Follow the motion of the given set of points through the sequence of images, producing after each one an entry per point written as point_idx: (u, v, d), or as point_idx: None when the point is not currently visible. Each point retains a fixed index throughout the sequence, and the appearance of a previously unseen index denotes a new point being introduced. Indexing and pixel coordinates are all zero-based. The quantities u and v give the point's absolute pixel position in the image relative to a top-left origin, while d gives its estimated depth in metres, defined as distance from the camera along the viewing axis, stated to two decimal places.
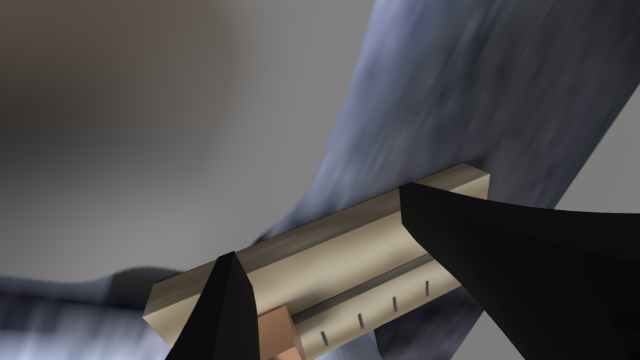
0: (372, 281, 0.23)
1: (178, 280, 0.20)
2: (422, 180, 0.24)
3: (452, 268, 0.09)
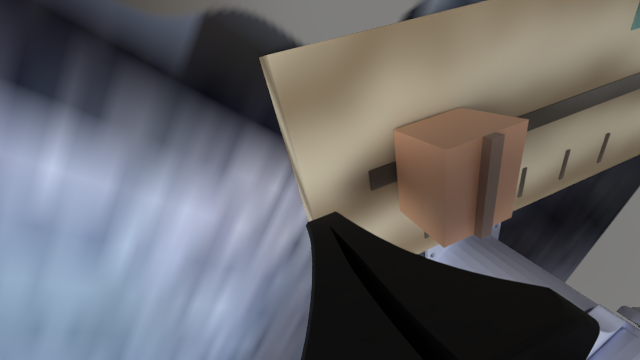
0: (558, 106, 0.16)
1: None
2: None
3: None
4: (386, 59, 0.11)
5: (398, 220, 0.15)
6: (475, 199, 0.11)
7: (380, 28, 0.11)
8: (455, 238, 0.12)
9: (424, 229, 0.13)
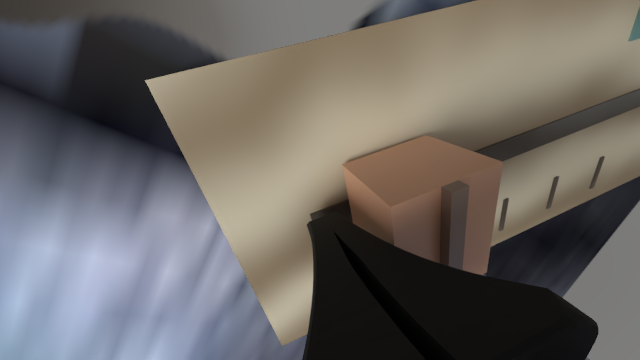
0: (544, 130, 0.13)
1: None
2: None
3: None
4: (320, 82, 0.09)
5: None
6: (437, 259, 0.09)
7: (306, 43, 0.08)
8: None
9: None
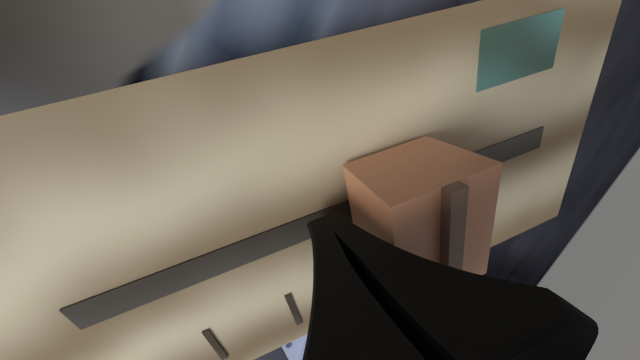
0: None
1: None
2: None
3: None
4: (0, 171, 0.07)
5: (161, 349, 0.11)
6: (437, 259, 0.09)
7: None
8: None
9: None
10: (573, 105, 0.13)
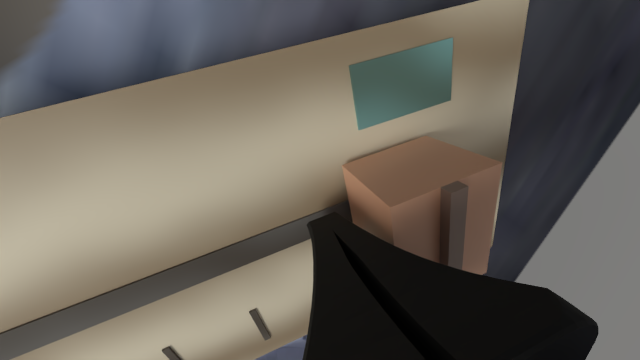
0: (268, 236, 0.11)
1: None
2: None
3: None
4: None
5: None
6: (437, 259, 0.09)
7: None
8: None
9: None
10: (487, 136, 0.12)
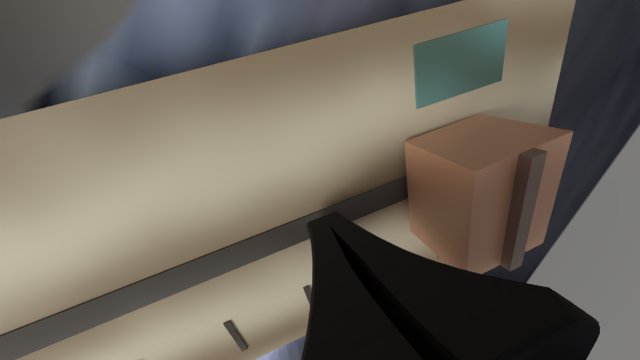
0: (327, 213, 0.11)
1: None
2: None
3: None
4: None
5: None
6: (504, 226, 0.09)
7: None
8: (479, 270, 0.10)
9: (440, 256, 0.11)
10: (530, 118, 0.13)
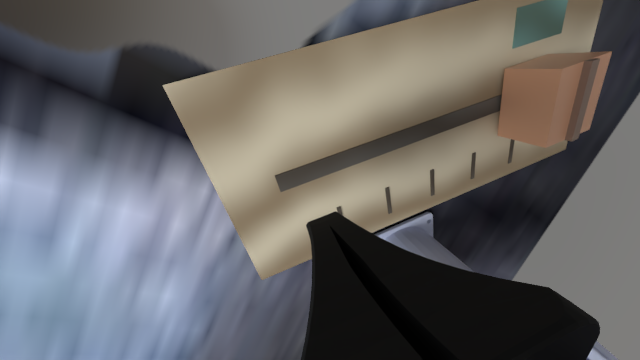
0: (453, 115, 0.18)
1: None
2: None
3: None
4: (274, 84, 0.13)
5: (313, 217, 0.18)
6: (571, 110, 0.16)
7: (262, 59, 0.13)
8: (553, 141, 0.17)
9: (525, 140, 0.18)
10: None
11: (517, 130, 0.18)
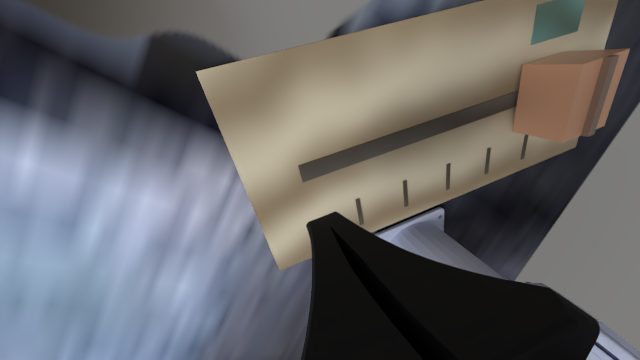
0: (472, 110, 0.18)
1: None
2: None
3: None
4: (302, 73, 0.14)
5: (332, 209, 0.18)
6: (588, 106, 0.16)
7: (293, 48, 0.13)
8: (570, 136, 0.17)
9: (541, 136, 0.18)
10: None
11: (533, 125, 0.18)
